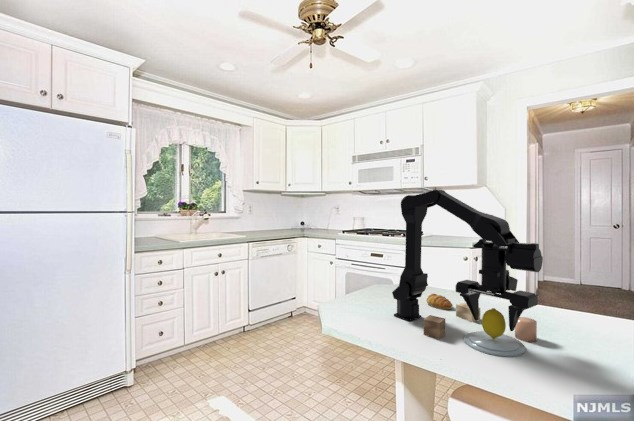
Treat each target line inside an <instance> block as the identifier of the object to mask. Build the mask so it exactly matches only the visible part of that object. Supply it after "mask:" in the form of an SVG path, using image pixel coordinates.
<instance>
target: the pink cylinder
mask: <svg viewBox="0 0 634 421" xmlns="http://www.w3.org/2000/svg"><path fill="white" fill-rule="evenodd" d="M537 324H538V322H537V320H535V319H533V318H530V317H525V316H520V317H519V319H518V322H517V324H516V326H515V329H514V337H515V339H516V340H518V341H523V342H527V343H535V342H537V337H538V336H537V335H538V334H537V332H538V329H537V328H538V327H537V326H538V325H537Z"/></svg>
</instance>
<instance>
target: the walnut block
mask: <svg viewBox="0 0 634 421" xmlns="http://www.w3.org/2000/svg"><path fill="white" fill-rule="evenodd" d="M423 335H424V336H428V337H431V338H434V339H437V340H440V339H441V338H442V337H444V336H445V335H446V318H444V317H440V316H436V315H432V314H431V315H427V316H426V317H425V318H423Z"/></svg>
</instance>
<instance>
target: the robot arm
mask: <svg viewBox="0 0 634 421" xmlns="http://www.w3.org/2000/svg"><path fill="white" fill-rule="evenodd" d="M436 205H437V206H439V207H440V208H441V209H444V210H445V211H446V212H448V213H449V214H452V215H454V216H455V217H456V218H458V219H460V220H461V221H463V222H465V223H466V224H467V225H469V227H470V228H471V230H472V231H473V233H475V234H476V235H477V236H479V237H480V239H478V241H477V242H476V243H474V244H473V245H472V246H473V248H475V249H476V248H477V249H481V269H479V270H478V274H479V275H481V284H480V283H479V281H474V280H470V279H464V280H460V281H457V282H456V284H455V292H456V293H458V294H459V296H460V297H462V298H463V300H464V303H467V305H468V307H469V309H470V311H471V313H472V315H473V317H474V319H475V320H476V321H475V322H478V321H479V320H478V318H479V308H480V307H479V302H480V301H479V299H480V296H481V294H482V295H486V296H491V297H495V298H499V299H504V300H508V301H509V303H510V304H511V305H508V309H507V310H508V326H509V331H510V332H513V331H514V332H515V326H516V324H517V322H518V319H519V317H521V315H522V314H523V313H524V311H525V310H528V309H531V308H533V307H535V306H538V305H539V303H538V302H539V298H538V296H537V294H535V292H534V293H533V292H530V291H524V290H517V286H518V280H519V279H517V278H515V277H513V276H510V271H509V270H508V269H507V266H509V267H510V269H512V270H517V271H526V272H533V273H540V271H541V270H542V267H543V260H544V258H543V255H542V250H541V249H540V247H539V246H540V244H539V243H537V242H536V243H535V242H532V243H524V242H520V241H519V240H518V239H517V237H516V236H515V234H513V233H512V231H511V229H510V224H509V222H508V221H507V220H505V219H504V218H502V217H498V216H496V215H494V214H489V213H485V212H482V211H479V210H477V209H476V208H474V207H473V206H470V205H468V204H467V203H465V202H463V201H461V200H459V199H458V198H456V197H455V196H453V195H450V194H449V193H448V192H446V191H445V190H443V189H432V190H430V191H426V192H424V193H419V194H412V195H411V194H408V195H405V196H404V197H403V198H401V201H400V208H401V209H400V210H401V215H402V218H403V220H404V222H405V251H404V252H405V255H404V257H405V259H404V261H405V262H404V263H405V264H404V268H403V270H402V272H401V274H400V278H399V284H398V286H397V287H396V288H395V289H394V290H393V291H392V294H391V295H392V297H393V300H394V299H395V300H396V313H393V316H394V317H397V318H399V319H402V320H404V321H408V322H410V321H414V320H417V319H420V318H422V315H421V314H420V304H419V299H418V298H421V297H422V295H423V293H424V292H425V291H426V290H427V289H426V288H427V287H428V286H429V284H428V277H429V276H428V273H427V272H425V273H424V271H423V269H422V235H423V234H422V233H423V231H422V229H423V222H424V220H425V218H426V216H427V213H428V209H429V208H431V207H435V206H436ZM510 291H512V292H510ZM477 320H478V321H477Z"/></svg>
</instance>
